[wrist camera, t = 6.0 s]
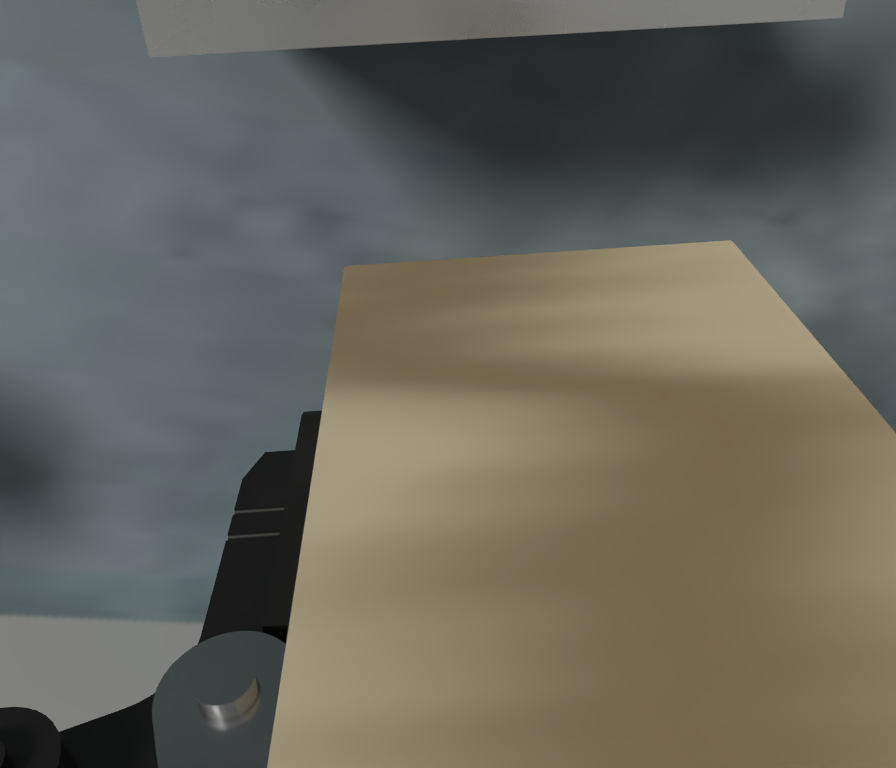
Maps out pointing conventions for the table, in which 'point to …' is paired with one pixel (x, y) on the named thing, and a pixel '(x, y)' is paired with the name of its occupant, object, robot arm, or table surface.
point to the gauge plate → (431, 20)
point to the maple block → (590, 525)
